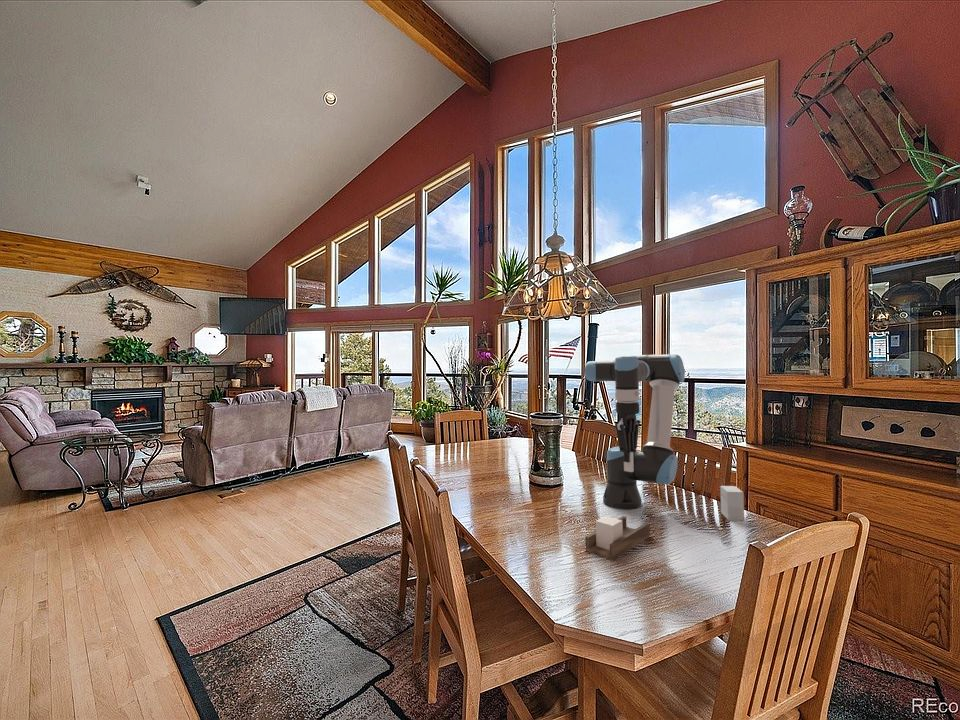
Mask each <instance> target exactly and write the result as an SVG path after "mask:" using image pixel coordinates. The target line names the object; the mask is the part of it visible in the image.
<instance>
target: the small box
mask: <svg viewBox="0 0 960 720" xmlns="http://www.w3.org/2000/svg"><path fill="white" fill-rule="evenodd" d="M719 487H720V491H719V492H720V513H721V514H722V515H723V516H724V517H725V518H726V519H727V521H745V502H744V501H745V498H744V497H745V495H744V492H743V490H741V489H740V488H739V487H737V486H736V485H735V486H734V485H720V486H719Z"/></svg>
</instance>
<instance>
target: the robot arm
mask: <svg viewBox="0 0 960 720" xmlns="http://www.w3.org/2000/svg"><path fill="white" fill-rule="evenodd" d="M584 376H585V379H586V380H587V381H590V382H615V401H616V402H615V412H616V413H617V414H619V417H618V423H615V424H614V427H615V429H616V435H617V441H618V446H613V447H611V448H609V449H608V450H607V451H606V478H607V479H606V480H607V481H606V482H607V483H606V487H605V489H604V492H603V495H602V501H603V502H602V503H604V504H605V506H607V507H611V508H614V509H620V510H633V509H637V508H640V507H641V506H643V504H642V502H643V501H642V497H641V494H640V492H639V488H638V484H637V483H638V482H644V483H646V482H647V483H653V484H657V485H671V484H672V483H673V481H674V479H675V478H676V475H677V471H678V467H679V466H678V464H679V463H678V460H679V458H678V457H677V455H676V454H674V451H675V450H673V448H672V447H671V436H672V425H673V415H674V402H675V392H676V390H677V389H678V388H679V387H680V383H684V382H685V378H686V374H685V366H684V362H683V359H682V357H681V356H680V355H679V354H671V353H668V354H663V353H662V354H640V355H622V356H621V355H618V356H616V357H615V358H614V360H594V361H593V360H592V361H591V360H590V361H587V362H586V364H585V366H584ZM641 382H648V383H649V386H650V387H651V388H652V391H651V399H650V400H651V402H650V403H651V404H650V411H649V418H648V419H649V421H648V428H647V429H648V430H647V440H646V443H645V444H643V445H642V448H641V449H642V450H640V451H639V450H637V448H638V442H639V441H638V438H639V429H640V425H641V420H640V419H637V415H638V414H639V413H640V403H639V400H640V392H639V391H640V389H639V388H640V387H639V386H640V384H639V383H641ZM637 481H638V482H637Z"/></svg>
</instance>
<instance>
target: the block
mask: <svg viewBox="0 0 960 720" xmlns="http://www.w3.org/2000/svg"><path fill="white" fill-rule="evenodd" d="M595 531H596V546H598V547H601V548H604V549H607V550H610V544H611V543H613V542H614V541H616V540H618V539H619V538H621V537H623V522H622V520H619V518H615V517H612V516H607V515H605V516H602V517H600V518H599V519H596V520H595Z"/></svg>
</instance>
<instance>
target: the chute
mask: <svg viewBox="0 0 960 720" xmlns="http://www.w3.org/2000/svg"><path fill="white" fill-rule="evenodd" d="M618 519H619V520H622V522H623V537H621V538H619V539H618V540H616V541H614V542H613V543H611V544H610V550H607V549H604V548H601V547H598V546H596V530H595V531H593V532H591V533H589V534H588V535H586V536H585V538H584V540H585V542H584V543H585V552H589V553H591V554H595V555H598V556H601V557H603V558H606V559H609V560H612V561H615V560H616V559H618V558H619V557H621V556H623V555H624V554H626V553H627V552H628V551H630V550H632V549H633V548H634V547H637V546H638V545H639V544H641V543H643V542H644V541H645V540H646V539H648V538H650V537H651V523H649V522H645V523H643V524H641V525H640V526H638V527H636V528H632V527H629V526H628V525H627V516H624V515H623V516H620V517H619V518H618Z"/></svg>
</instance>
